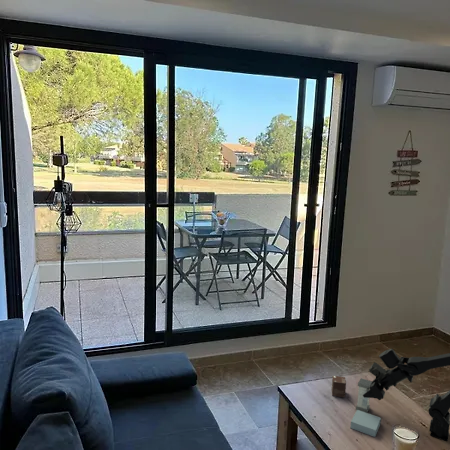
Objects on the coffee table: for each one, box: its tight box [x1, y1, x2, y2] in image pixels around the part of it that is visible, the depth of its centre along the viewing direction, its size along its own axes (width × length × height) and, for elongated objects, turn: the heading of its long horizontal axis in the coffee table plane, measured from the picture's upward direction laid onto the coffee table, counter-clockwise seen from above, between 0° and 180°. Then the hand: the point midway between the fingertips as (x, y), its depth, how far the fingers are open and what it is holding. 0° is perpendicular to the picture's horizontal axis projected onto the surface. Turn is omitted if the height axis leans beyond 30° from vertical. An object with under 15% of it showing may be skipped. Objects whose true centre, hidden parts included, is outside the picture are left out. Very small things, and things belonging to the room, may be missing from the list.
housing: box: [355, 377, 373, 414], centre depth 184 cm, size 5×5×13 cm
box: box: [331, 375, 347, 398], centre depth 196 cm, size 6×6×7 cm
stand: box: [350, 410, 382, 438], centre depth 172 cm, size 10×10×3 cm
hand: (365, 391), depth 183 cm, fingers open, 9 cm apart
